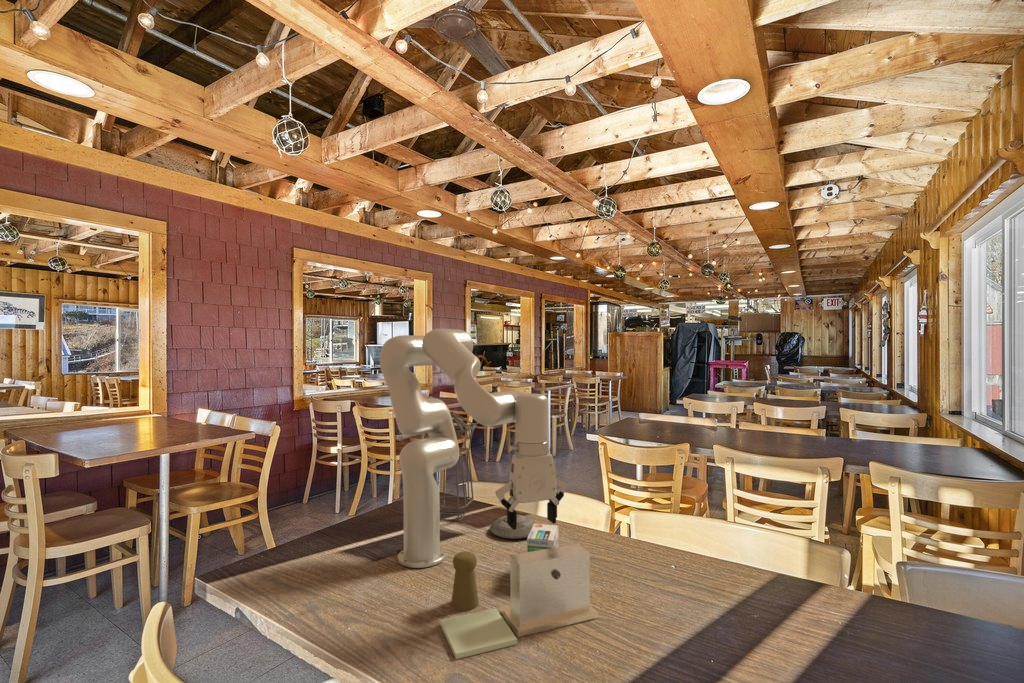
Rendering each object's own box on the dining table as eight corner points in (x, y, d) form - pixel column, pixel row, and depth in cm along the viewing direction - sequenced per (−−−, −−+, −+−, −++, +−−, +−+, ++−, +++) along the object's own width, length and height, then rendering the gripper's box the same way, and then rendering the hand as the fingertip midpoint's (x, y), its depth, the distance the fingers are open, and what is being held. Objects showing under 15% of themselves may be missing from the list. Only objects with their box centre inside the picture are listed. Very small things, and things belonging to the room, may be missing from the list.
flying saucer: (540, 542, 143) (540, 523, 144) (488, 542, 144) (488, 523, 144) (538, 524, 158) (538, 506, 159) (491, 524, 159) (491, 506, 159)
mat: (440, 624, 101) (440, 619, 101) (495, 612, 105) (495, 608, 105) (456, 659, 90) (456, 653, 90) (517, 644, 94) (517, 638, 94)
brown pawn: (451, 597, 112) (451, 548, 112) (478, 596, 112) (478, 547, 112) (450, 612, 106) (450, 560, 106) (479, 610, 106) (478, 559, 106)
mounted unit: (500, 611, 106) (499, 549, 106) (574, 595, 112) (574, 537, 112) (518, 637, 96) (517, 569, 96) (597, 617, 103) (597, 554, 103)
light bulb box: (554, 586, 117) (554, 540, 117) (526, 583, 118) (526, 538, 118) (559, 566, 127) (559, 524, 127) (533, 564, 129) (533, 522, 129)
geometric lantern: (421, 523, 159) (420, 413, 160) (436, 508, 175) (435, 408, 176) (468, 525, 156) (467, 413, 158) (480, 510, 172) (478, 408, 173)
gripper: (502, 455, 105) (502, 536, 105) (573, 448, 112) (574, 524, 112) (490, 448, 112) (490, 524, 112) (558, 442, 119) (558, 514, 119)
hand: (532, 524), depth 112 cm, fingers open, 9 cm apart
